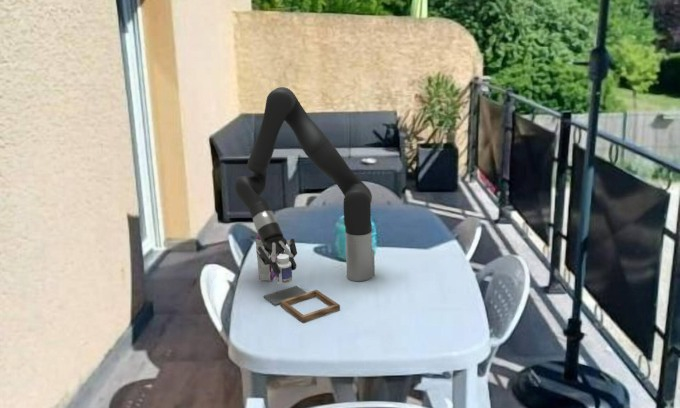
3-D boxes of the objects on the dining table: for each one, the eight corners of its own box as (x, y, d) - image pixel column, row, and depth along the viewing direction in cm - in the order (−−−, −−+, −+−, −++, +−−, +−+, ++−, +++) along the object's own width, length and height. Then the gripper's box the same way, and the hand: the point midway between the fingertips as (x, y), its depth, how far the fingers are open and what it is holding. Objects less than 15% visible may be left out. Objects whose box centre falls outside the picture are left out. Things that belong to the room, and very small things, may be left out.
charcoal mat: (296, 287, 224) (296, 285, 223) (308, 295, 217) (308, 293, 217) (263, 297, 217) (263, 295, 217) (274, 306, 210) (274, 304, 210)
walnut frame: (316, 294, 218) (316, 289, 217) (340, 309, 207) (339, 304, 206) (280, 306, 210) (280, 301, 210) (302, 322, 199) (302, 317, 199)
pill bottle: (294, 278, 217) (293, 254, 214) (288, 285, 212) (287, 260, 209) (280, 276, 219) (279, 252, 216) (273, 283, 214) (272, 258, 211)
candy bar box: (267, 268, 240) (264, 226, 235) (280, 269, 239) (277, 227, 234) (258, 281, 229) (254, 238, 224) (271, 282, 228) (268, 238, 223)
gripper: (251, 226, 212) (270, 272, 206) (289, 217, 219) (309, 261, 214) (245, 236, 217) (263, 281, 212) (282, 227, 225) (301, 270, 219)
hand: (286, 271), depth 213 cm, fingers closed on pill bottle, 5 cm apart
